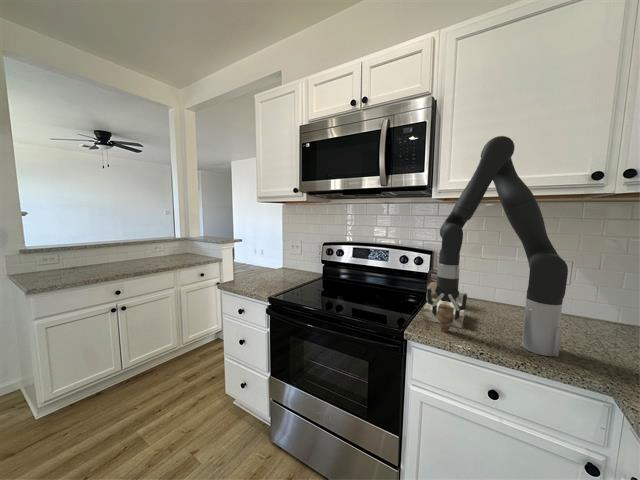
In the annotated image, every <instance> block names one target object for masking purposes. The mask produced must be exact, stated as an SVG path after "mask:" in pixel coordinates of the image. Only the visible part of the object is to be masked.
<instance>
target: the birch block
mask: <svg viewBox="0 0 640 480" xmlns="http://www.w3.org/2000/svg"><path fill="white" fill-rule="evenodd" d="M435 300H436V299H432V301H435ZM458 304H459V306H462V303H461V302H460V303H459V302H458ZM440 305H446V306H450V307H452V308H454V313H453V322H452V323H450V326H452V327H456V328H459V329H462V328H463V324H464V321H465V320H464V319H465V315H466V309H465V310H460V316H459V319H457V320H455V310H456V308H455V307H454V305H453V304H452V302H447V301H442V300H440V301H439V302H438V303H437V314H436V316H435V315H434V314H433V313H432V308H433V306H432V305H431V304H428V301H427V302H426V303H425V305H424V307H423V309H422V320H423V321H427V322H433V323H436V322H438V323H437V324H440V321H439V320H438V306H440Z"/></svg>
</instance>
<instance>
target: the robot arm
mask: <svg viewBox="0 0 640 480" xmlns="http://www.w3.org/2000/svg"><path fill="white" fill-rule="evenodd" d="M514 152H515V143H514V141H513V139H511V138H510V137H509V136H505V135H498V136H495V137H493V138H491V139H489V140H488V141H487V143H485V145H484V146H483V148H482V150H481V153H480V159H479V163H478V165H477V167H476V169H475V170H474V173H473V175H472V177H471V178H470V179H469V181H468V183H467V184H466V186H465V188H464V189H463V191H462V192H461V194H460V195H459V198H458V199H457V201H456V202H455V203H454V206H453V208H452V210H451V212H450V213H449V214H448V216H447V217H446V218H445V220H444V221H443V223H442V225H441V227H440V230H439V236H440V238H441V247H440V248H441V249H440V250H439V256H438V267H437V270H438V271H437V287H436V289H432V288H429V289H428V301H427V302H428V304H431V305H432V306H433V308H432V313H433V314H434V315H435V316H436V314H437V303H438V302H439V301H440V300H442V301H447V302H452V304H453V305H454V307H455V308H456V310H455V320H457V319H459V316H460V310H465V311H466V308H467V301H468V300H467V299H468V294H467V293H466V292H465V293H463V292H460V291H459V284H460V283H459V281H460V256H461V255H460V254H461V249H462V245H463V241H464V231H463V228H464V227H465V225H466V223H467V222H468V221H469V220H471V219H472V218H473V216H474V214H475V212H476V211H477V209H478V208H479V206H480V204H481V202H482V200H483V198H484V196H485V194H486V192H487V190H488V188H489V186H490V185H491V183H492V182H493V184H494V186H495V189H496V192H497V195H498V198H499V201H500V204H501V207H502V209H503V211H504V213H505V216H506V218H507V220H508V222H509V224H510V226H511V228H512V229H513V231H514V232H515V234H516V235H517V237H518V239H519V240H520V242H521V243H522V246H523V250H524V252H525V255H526V259H527V263H528V268H529V275H528V283H527V284H528V285H527V290H526V298H525V307H524V316H523V317H524V318H523V325H522V326H523V327H522V328H523V329H522V335H521V336H522V337H521V346H522V348H524V349H525V350H527V351H529V352H531V353H534V354H536V355H539V356H545V357H556V358H558V357H559V354H560V353H559V352H560V345H561V338H562V337H561V335H562V327H561V319H562V311H563V310H562V308H563V302H564V298H565V295H566V288H567V284H568V283H567V282H568V276H569V268H568V265H567V262H566V261H565V260H564V259H563V258H561V256H560V255H559V254H558V252H557V250H556V249H555V247H554V246H553V244H552V242H551V240H550V238H549V236H548V234H547V233H548V232H547V229H546V226H545V221H544V217H543V213H542V211H541V208H540V206H539V203H538V201H537V199H536V197H535V195H534V193H533V192H532V191H531V189H530V188H529V187H528V186H527V185H526V183H525V182H524V181H523V180H522V179H521V178H520V176H519V175H518V172H517V171H516V168H515V165H514V163H513V160H512V157H513V155H514ZM434 292H435V293H436V294H437V296H438V297H437V299H436V300H435V301H432V294H433V293H434ZM458 297H460V299H461V300H462V301H461V304H462V306H459V304H458V303H459V302H458V300H457V298H458Z"/></svg>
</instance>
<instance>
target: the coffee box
mask: <svg viewBox="0 0 640 480" xmlns="http://www.w3.org/2000/svg"><path fill="white" fill-rule="evenodd" d="M437 271H438V269H431V270H428V271H427V281H426V283H427V284H426V300H425V301H427V302H428V289H429V288H432V289H436V287H437ZM437 297H438V296H437V294H436V293H435V292H434V293H433V294H432V299H437Z"/></svg>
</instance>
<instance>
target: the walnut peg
mask: <svg viewBox="0 0 640 480" xmlns="http://www.w3.org/2000/svg"><path fill="white" fill-rule="evenodd" d="M453 313H454V308H452V307H450V306H446V305H440V306H438V320H439V321H440V323H439V328H440V332H441V333H445V334H447V333H449V330H450V323H452V322H453Z"/></svg>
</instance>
